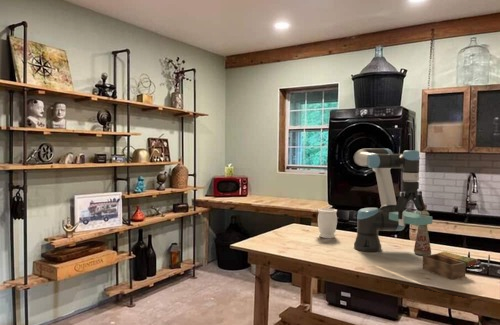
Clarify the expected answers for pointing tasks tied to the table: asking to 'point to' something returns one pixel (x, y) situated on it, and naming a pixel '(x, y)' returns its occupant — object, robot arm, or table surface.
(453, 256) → the carton
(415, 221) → the lid
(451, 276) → the crate
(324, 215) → the jar
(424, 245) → the bottle
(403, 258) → the table surface
